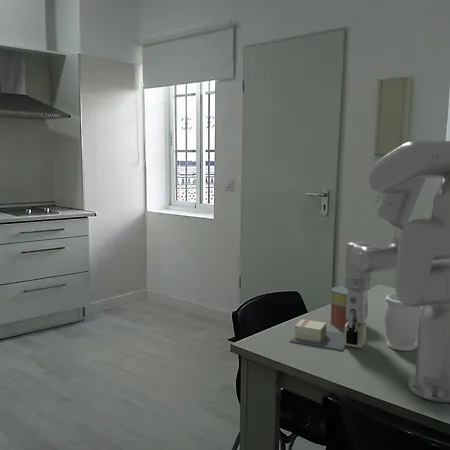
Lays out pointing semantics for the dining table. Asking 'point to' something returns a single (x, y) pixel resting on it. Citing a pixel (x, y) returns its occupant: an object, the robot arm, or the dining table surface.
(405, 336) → the jar
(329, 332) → the mat
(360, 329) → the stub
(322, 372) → the dining table surface
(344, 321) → the canned food
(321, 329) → the cream striped box
